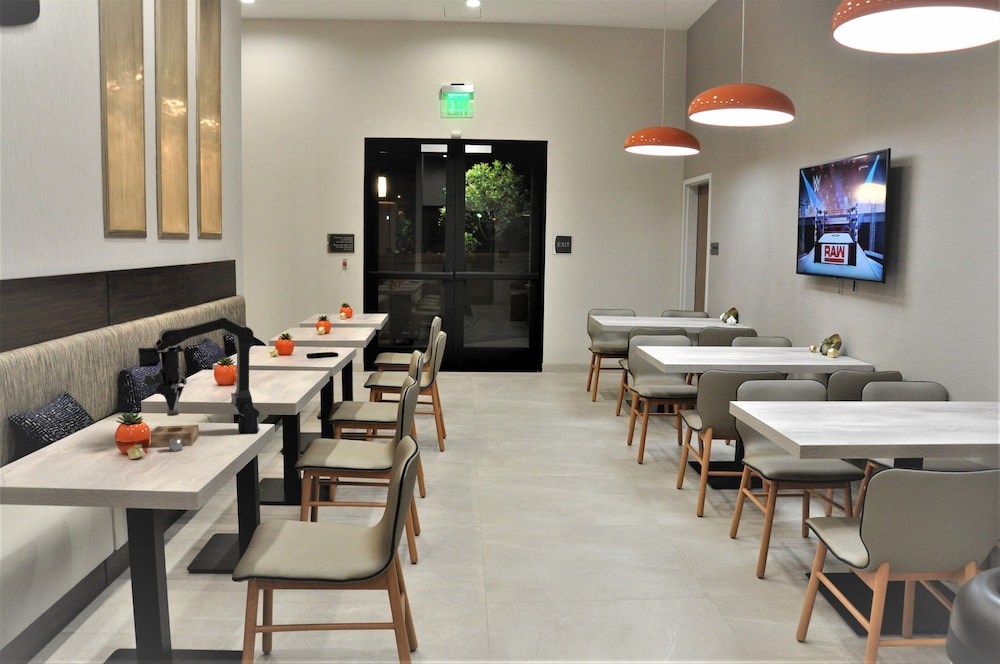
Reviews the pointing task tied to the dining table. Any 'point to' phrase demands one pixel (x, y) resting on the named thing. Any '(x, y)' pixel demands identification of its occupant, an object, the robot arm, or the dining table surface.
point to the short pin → (175, 444)
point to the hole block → (174, 435)
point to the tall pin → (175, 410)
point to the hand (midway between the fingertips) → (172, 408)
